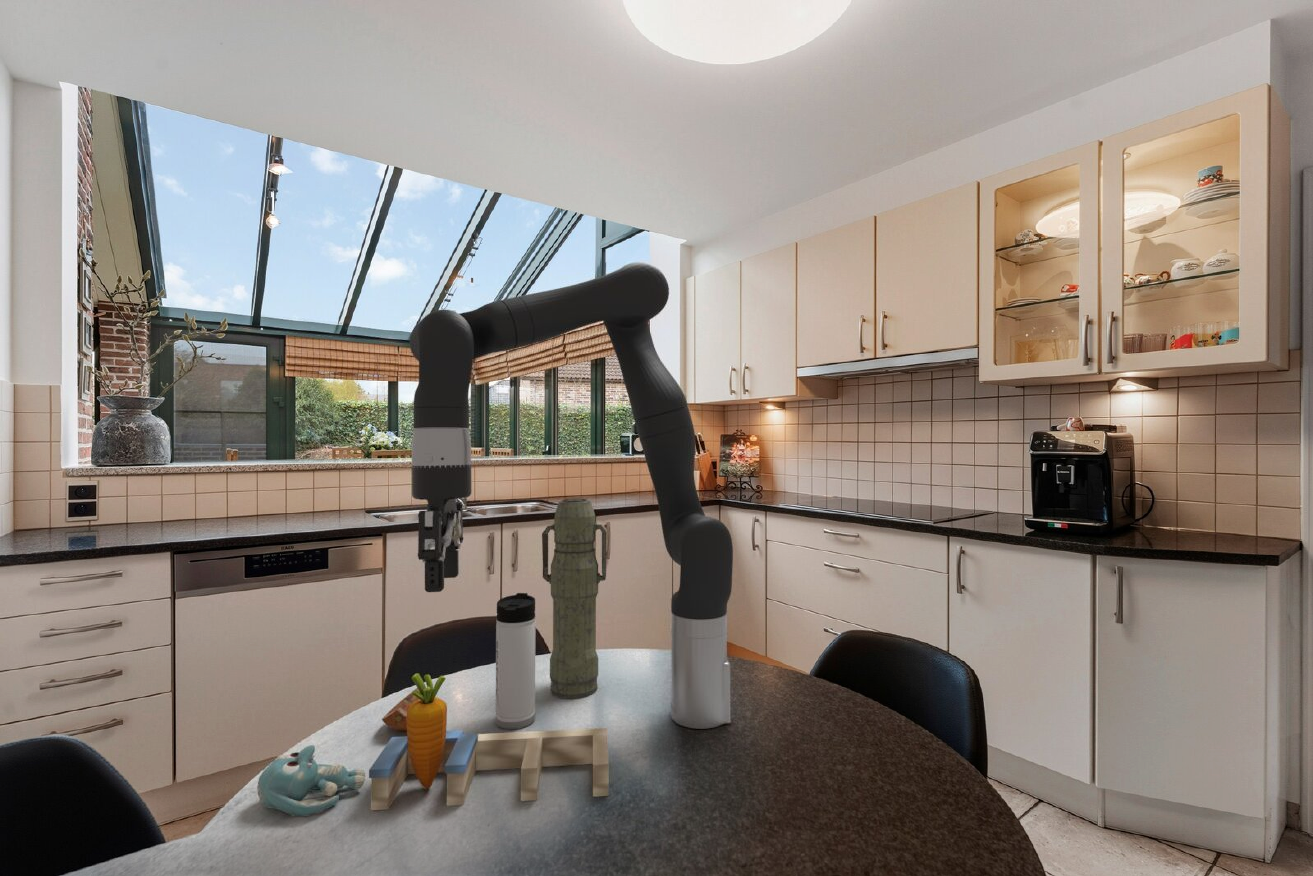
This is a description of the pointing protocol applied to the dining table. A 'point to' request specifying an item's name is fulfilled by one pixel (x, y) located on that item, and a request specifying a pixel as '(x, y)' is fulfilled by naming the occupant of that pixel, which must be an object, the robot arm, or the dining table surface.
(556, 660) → the thermos
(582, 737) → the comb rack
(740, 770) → the dining table surface
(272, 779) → the stuffed animal
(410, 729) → the carrot
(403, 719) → the fruit slice
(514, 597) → the travel mug
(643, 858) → the dining table surface
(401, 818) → the dining table surface
